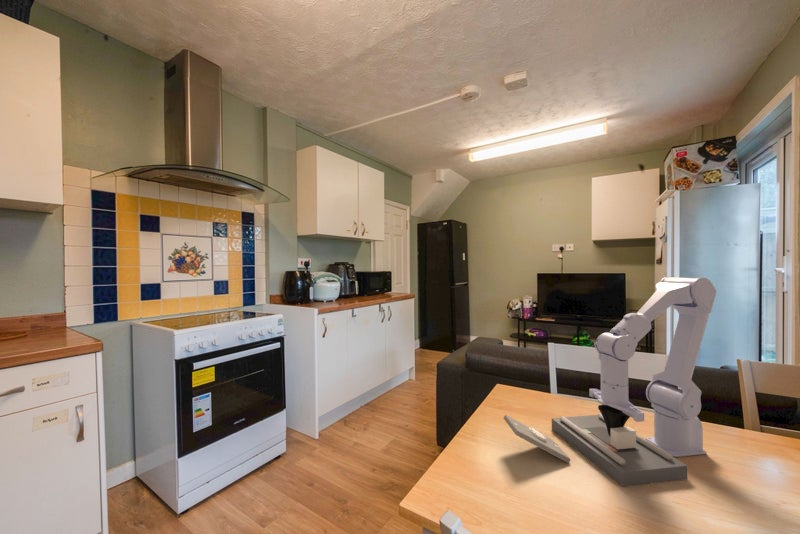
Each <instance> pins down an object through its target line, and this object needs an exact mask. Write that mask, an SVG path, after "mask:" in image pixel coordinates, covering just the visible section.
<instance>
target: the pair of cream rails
mask: <svg viewBox="0 0 800 534" xmlns="http://www.w3.org/2000/svg"><path fill="white" fill-rule="evenodd" d="M597 415H598V417H599V418H600V419H602V420H604V418H603V416H602V414H601V412H599V413H597ZM565 417H566V416H563V415H561V416H560V417H559V418H560V420H561V421H562V422H563V423H565V424H566V425H567V426H569V427H570V428H572V429H573V430H574V431H576V432H577V433H578V434H580V435H581V436H582V437H584V438H585V439H586V440H588V441H589V442H590V443H592V444H593V445H594V446H596V447H597V448H599V449H600V450H601V451H603V452H604V453H605V454H607V455H608V456H609V457H611V458H612V459H613V460H615V461H616V462H617V463H619V464H620V465H622V466H624V465H625V464H626V461H625V460H624V459H623V458H621V457H620V456H619V455H617V454H616V453H614V452H613V451H611V450H610V449H609V448H607V447H606V446H604V445H603V444H602V443H600V442H599V441H597V440H596V439H595V438H593V437H592V436H590V435H589V434H588V433H586V432H585V431H583V430H582V429H581V428H579V427H578V426H576V425H575V424H573V423H572V422H571V421H569V420H568V419H566V418H565ZM636 441H638V442H640V443H641V444H643V445H644V446H646V447H648V448H649V449H651V450H653V451H654V452H656V453H658V454H659V455H661V456H662V457H664V458H666V459H667V460H669V461H671V460H672V459H673V457H674V456H672V455H671V454H669V453H668V452H666V451H664V450H663V449H661V448H659V447H658V446H656V445H654V444H652V443H651V442H649V441H647V440H646V439H645V438H644V437H643V436H640V435H639V434H637V433H636Z"/></svg>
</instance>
